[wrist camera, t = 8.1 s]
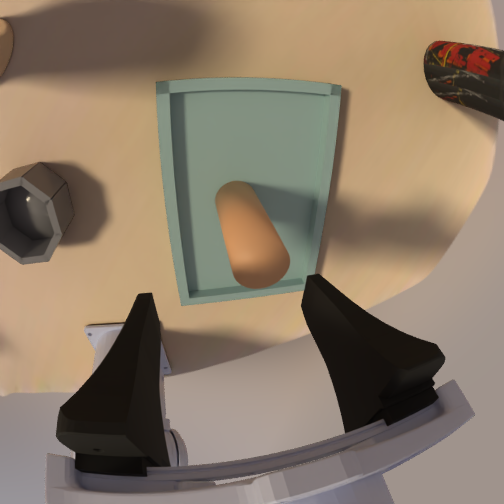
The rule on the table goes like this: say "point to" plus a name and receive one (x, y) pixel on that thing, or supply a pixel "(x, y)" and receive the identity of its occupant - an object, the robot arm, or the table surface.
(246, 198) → the dowel
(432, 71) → the deodorant
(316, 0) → the table surface
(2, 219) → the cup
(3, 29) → the beer glass
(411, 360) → the robot arm
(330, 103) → the tray
